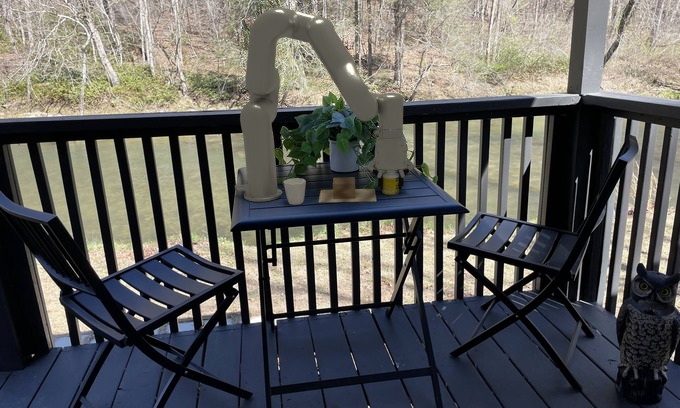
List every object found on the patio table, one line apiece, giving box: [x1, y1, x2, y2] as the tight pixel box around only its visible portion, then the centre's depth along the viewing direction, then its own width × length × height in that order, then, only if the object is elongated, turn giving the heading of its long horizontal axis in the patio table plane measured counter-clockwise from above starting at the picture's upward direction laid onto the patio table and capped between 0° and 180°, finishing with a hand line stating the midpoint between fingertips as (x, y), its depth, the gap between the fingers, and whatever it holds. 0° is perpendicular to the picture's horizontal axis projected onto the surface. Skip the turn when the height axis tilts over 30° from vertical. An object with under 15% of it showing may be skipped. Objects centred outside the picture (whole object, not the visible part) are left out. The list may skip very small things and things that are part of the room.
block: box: [332, 176, 356, 199], centre depth 169 cm, size 7×7×5 cm
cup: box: [283, 177, 307, 206], centre depth 164 cm, size 7×10×8 cm
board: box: [318, 188, 377, 203], centre depth 170 cm, size 18×13×1 cm
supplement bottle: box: [381, 170, 400, 196], centre depth 170 cm, size 5×5×10 cm
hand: (390, 188), depth 171 cm, fingers closed on supplement bottle, 5 cm apart
